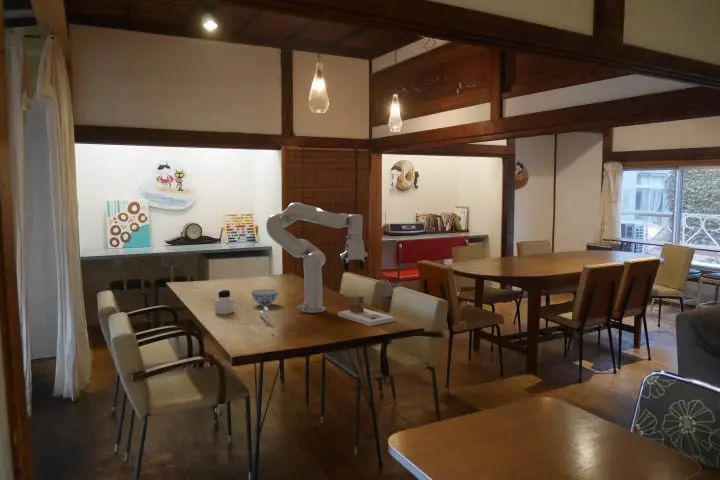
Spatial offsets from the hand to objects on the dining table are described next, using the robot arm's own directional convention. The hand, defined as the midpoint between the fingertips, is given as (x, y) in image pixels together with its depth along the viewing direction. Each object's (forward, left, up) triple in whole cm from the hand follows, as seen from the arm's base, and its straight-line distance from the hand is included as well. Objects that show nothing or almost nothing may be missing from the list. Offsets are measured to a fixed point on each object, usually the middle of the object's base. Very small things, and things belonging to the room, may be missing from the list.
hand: (353, 269), depth 284 cm
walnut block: (-4, -7, -21) cm, 22 cm away
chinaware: (-29, +45, -23) cm, 58 cm away
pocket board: (-4, -14, -23) cm, 27 cm away
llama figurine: (-47, +12, -23) cm, 54 cm away
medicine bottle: (-55, +42, -23) cm, 73 cm away
